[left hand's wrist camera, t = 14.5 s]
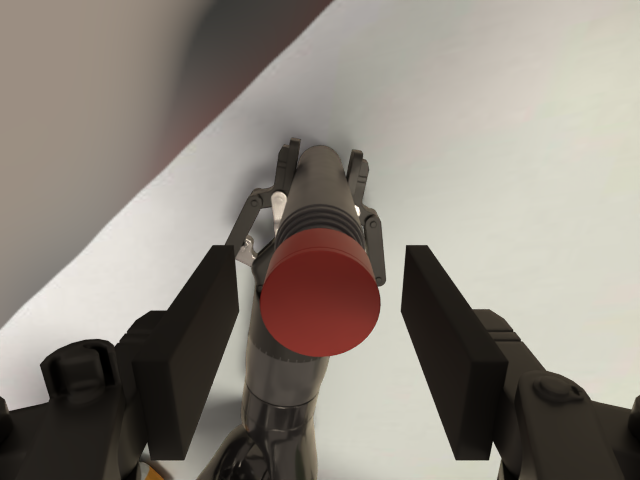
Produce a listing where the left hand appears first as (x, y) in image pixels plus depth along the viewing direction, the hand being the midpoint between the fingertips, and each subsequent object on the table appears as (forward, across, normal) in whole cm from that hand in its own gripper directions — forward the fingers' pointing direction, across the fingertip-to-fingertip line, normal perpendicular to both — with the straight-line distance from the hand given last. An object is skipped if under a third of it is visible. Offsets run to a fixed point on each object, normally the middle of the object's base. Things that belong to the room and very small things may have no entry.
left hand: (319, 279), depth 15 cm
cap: (-2, 0, 0) cm, 2 cm away
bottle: (+23, 0, 0) cm, 23 cm away
